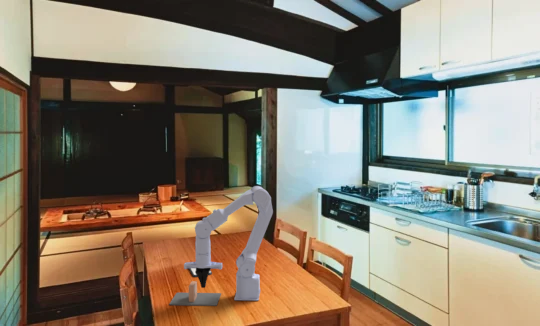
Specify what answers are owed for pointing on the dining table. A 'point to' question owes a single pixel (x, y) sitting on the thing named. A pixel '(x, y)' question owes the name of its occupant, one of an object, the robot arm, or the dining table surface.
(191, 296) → the tile
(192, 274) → the phone case
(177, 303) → the mat
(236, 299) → the robot arm
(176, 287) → the dining table surface
